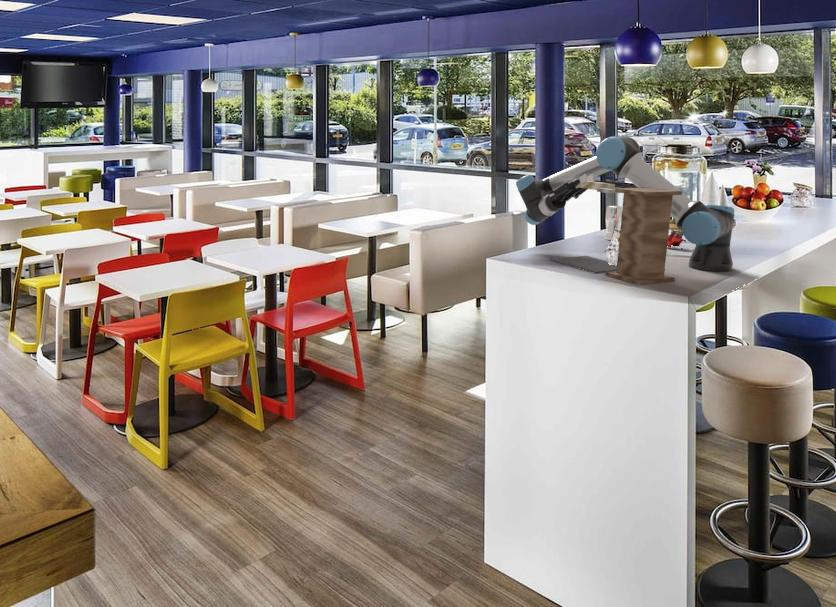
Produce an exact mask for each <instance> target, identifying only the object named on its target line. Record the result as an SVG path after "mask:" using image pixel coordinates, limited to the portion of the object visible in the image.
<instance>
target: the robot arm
mask: <svg viewBox="0 0 836 607" xmlns="http://www.w3.org/2000/svg"><path fill="white" fill-rule="evenodd" d="M610 171H611V172H613V174H614V175H615V176H617V177H618V178H619V179H626V180H628V181H629V182H631V184H633V185H634V186H635V188H644V187H652V188H660V189H668V190H677V191H681V190H680V189H679V188H678V187H676V186H675V185H674V184H673V183H672V182H670V181H669V179H667V178H666V177H664V176H663V175H662V174H661V173H660V172H658V171H657V170H656V169H655V168H653V167H652V166H651V165H650V164H648V163H647V162H646V161H645V160H644V159H643V153H642V152H641V147H640V145H639V143H638V142H637V141H636V139H634V138H631V137H630V136H629V137H628V136H609V137H607V138H604V139H603V140H602V141H601V142H599V144H598V146H597V148H596V150H595V156H593V157H590V158H589V159H586V160H583V161H581V162H579V163H577V164H574V165H573V166H570V167H568V168H566V169H563V170H561V171H559V172H557V173H554V174H552V175H549V176H547V177H545V178H542V179H535V178H534V177H533V175H532V174H527V175H524V176H522V177H520V178H519V179H517V180H516V181H515V185H516V188H517V191H518V193H519V194H520V195H519V196H520V197H521V199H522V201H523V203H524V205H525V208H526V210H525V212H524V219H525V220H526V222H527V223H528V224H529V225H532V226H536V225H539V224H541V223H543V222H544V221H545V220H547V219H548V218H549V217H552V216H553V215H554V214H556V213H557V212H558V211H560V210H562V209H563V208H564V207H565V206H566V203H567V202H569V201H570V200H571V199H572V198H574V199H575V200H576V199H579V197H580V196H581V195H583V193H585V192H586V191H588V189H586V188H580V186H581V185H582V184H584V183H585V182H587V181H595V182H596V180H595V178H596V177H598V176H601V175H604V174H606V173H608V172H610ZM573 179H577V180H575V181H574V182H573ZM670 217H672V218H673V219H674V220H675V226H677V227H678V228H679V229H680V231H681V230H682V232H683V237H684V238H685V240H686V241H687V242H689V243H691V244H693V245H695V247H694V248H693V252H692V253H691V255H690V258H689V260H688V266H689V267H690V268H693V269H698V270H702V271H710V272H711V271H712V272H727V271H726V270H729V271H732V270H733V265H734V263H733V257H732V253H731V241H732V234H733V228H734V219H735V208H734V207H733V206H727V205H719V204H704V203H703V202H702V201H701V200H692V199H691V198H690V197H689V196H688V195H687V194H686V193H684V192H683V191H682V195H673V198H672V207H671V216H670ZM731 269H732V270H731Z"/></svg>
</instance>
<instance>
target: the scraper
mask: <svg viewBox="0 0 836 607" xmlns="http://www.w3.org/2000/svg"><path fill="white" fill-rule="evenodd" d="M575 180H577V179H573V182H574V181H575ZM580 188H586V189H587V190H593V191H596V192H597V193H605V194H621V193H620V192H615V188H616V184H615V183H609V182H600V181H596V180H595V181H587V182H585V183H584V184H582V185H581V186H580Z"/></svg>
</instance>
